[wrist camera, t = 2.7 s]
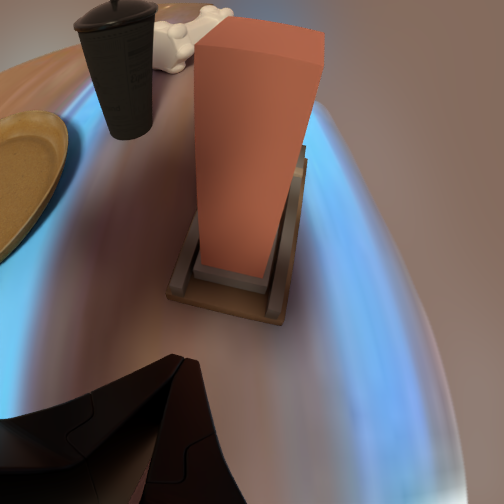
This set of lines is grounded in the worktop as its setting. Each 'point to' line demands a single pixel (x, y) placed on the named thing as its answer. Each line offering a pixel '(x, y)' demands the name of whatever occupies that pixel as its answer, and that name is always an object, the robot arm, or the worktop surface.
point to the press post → (249, 140)
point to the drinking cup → (121, 62)
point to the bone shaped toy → (183, 38)
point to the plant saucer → (28, 171)
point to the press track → (235, 299)
